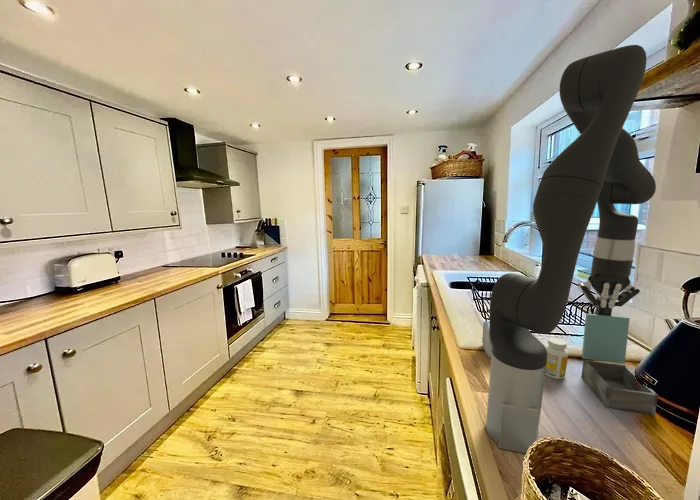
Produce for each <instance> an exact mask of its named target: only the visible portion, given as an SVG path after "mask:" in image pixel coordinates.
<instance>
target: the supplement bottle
mask: <svg viewBox="0 0 700 500" xmlns="http://www.w3.org/2000/svg"><path fill="white" fill-rule="evenodd" d="M544 346H545V348H546V350H547V363H546V371H545V376H547V377H549V378H552V379H556V380H557V379H558V380H561V379H564V378H565V377H566V374H567V365H568V359H569V351H568V350H567V349H566V348H567V342H566V341H565V340H563V339H561V338H558V337H549V339H548V341H547V345H544Z"/></svg>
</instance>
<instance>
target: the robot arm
mask: <svg viewBox="0 0 700 500" xmlns="http://www.w3.org/2000/svg"><path fill="white" fill-rule="evenodd" d="M646 69H647V53H646V50H645V49H644V47H643V46H641V45H639V44H630V45H629V44H628V45H624V46H621V47H617V48H614V49H610V50H606V51H603V52H599V53H596V54H592V55H589V56H586V57H585V56H584V57H583V58H579V59H577V60H575V61H572V62H571V63H569V64H568V65H567V66H566V68H565V69H564V71H563V72H562V75H561V78H560V81H559V96H560V97H559V98H560V102H561V104H562V108H563V109H564V112H565V113H566V114H567V116H568V118H569V119H570V121H571V122H572V124H573V125H574V127H575V129H576V130H577V131H578V133H579V135H578V137H576V138H575V139H574V140H573V141H572V142H570V144H569V145H568V146H566V148H564V149H563V151H562V152H560V153H559V154H558V155H557V156H556V157H555V158H554V159H553V160H552V161H551V163H550V164H549V165H547V167H546V168H545V170H544V172H543V174H542V175H541V179H540V182H539V185H538V187H537V190H536V194H535V196H534V199H533V202H532V203H533V204H532V213H533V217H534V221H535V224H536V227H537V230H538V234H539V236H540V239H541V243H542V249H543V257H542V264H541V267H540V268H541V269H540V271H539V275H538V278H534V277H530V276H526V275H524V274H520V273H519V274H518V273H513V272H512V273H510V272H509V273H505V274H503V275H501V276H500V277H499V278H498V279H497V280H496V282H495V283H494V285H493V287H492V290H491V293H490V299H489V300H490V301H489V321H490V329H489V336H490V341H491V343H492V357H491V358H490V359H491V360H490V369H489V371H490V372H489V373H490V374H489V382H488V395H487V406H486V422H485V428H486V432H487V434H488V436H489V437H490V438H491V439H492V440H493V441H494V442H495V443H496V444H497V448H498V449H502V450H506V451H511V452H515V453H516V452H517V453H520V454H521V453H522V454H525V453H526V452H527V450H528V448H529V447H530V446H531V445H532V444H533V443H534V442H535V441H536V440H537V441H538V439H539V438H538V437H539V429H540V421H541V410H542V403H543V395H544V385H545V378H546V375H545V371H546V363H547V350H546V348H545V346H546V345H544V344H543V343H542V342H541V341H540V340H539V339H538V338H537V337H536V336H535V335H534V334H533V333H536V334H540V335H547V334H549V333H551V332H553V331H554V330H555V329H556V328H557V327H558V325H559V324H560V322H561V321H562V318H563V317H564V313H565V311H566V308H567V304H568V300H569V297H570V292H571V288H572V284H573V283H572V282H573V279H574V275H575V270H576V265H577V261H578V258H579V254H580V251H581V248H582V244H583V241H584V238H585V236H586V233H587V230H588V227H589V224H590V221H591V219H592V216H593V213H594V211H595V208H596V207H598V215H599V225H598V231H597V238H596V242H595V244H594V249H593V254H592V255H593V257H592V262H591V267H590V268H591V270H590V271H591V272H590V275H589V276H588V278H587V280H586V281H584V282H578V283H577V287H578V288H579V290H580V291H581V293H582V294H583V296H585V297H586V299H587V300H588V302H590V303H592V304H593V305H595V313H594V314H597V315H608V316H612V313H613V308H614V307H623V306H624V305H625V304H626V303H628V302H630V300H631V299H633V298H634V297H635V296H637V295H638V294H640V291H641V290H640V289H639V288H637V287H635V286H634V285H632V284H631V280H630V276H631V273H632V266H633V262H634V255H635V250H636V249H635V248H636V243H635V242H636V235H637V231H638V226H639V219H638V217H637V216H636V215H634V214H629V213H624V212H621V211H619V210H617V209H616V207H615V205H618V204H619V205H641V204H645V203H646V202H648V201H650V200H651V199H652V198H653V197H654V195H655V194H656V189H657V188H656V187H657V185H656V180H655V178H654V176H653V175H652V173H651V172H650V171H649V170H648V169H647V167H646V166H645V165H644V164H643V163H642V162H641V161H640V156H639V151H638V147H637V143H636V140H635V139H634V137H633V135H632V134H630V133H629V132H628V131H627V130H626V129H625V128H623V127H624V125H625V123H626V121H627V119H628V116H629V115H630V112H631V110H632V108H633V105H634V103H635V100H636V99H637V96H638V93H639V90H640V88H641V86H642V83H643V81H644V77H645V72H646ZM592 289H593V290H594V291H595V296H596V297H595V296H594V294H593V293H592V291H591V290H592ZM532 332H533V333H532Z"/></svg>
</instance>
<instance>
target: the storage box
mask: <svg viewBox="0 0 700 500" xmlns="http://www.w3.org/2000/svg"><path fill="white" fill-rule="evenodd" d="M581 369H582V371H581V377H580V378H581V379H582V380H583V381H584V383H585V384H586V386H588V388H589V389H590V391H591V392H592V393H593V394H594V396H595V397H596V398H597V399H598V401H599V402H600V403H601V404H602V405H603V407H604V408H605V409H610V410H615V411H623V412H627V413H635V414H641V415H648V416H653V417H654V416H655V415H656V410H657V405H658V400H659V394H657V393H656V392H655V391H654V390H653V389H652V388H651V387H650V388H651V389H650V388H648V387H647V386H645V385H644V384H643V385H642V387H641V386H639V385H638V384H637V382H636V379H635V375H636V374H635V372H633V370H632V369H630V368H629V367H628V366H627V365H625V364H620V363H612V362H603V361H595V360H587V359H585V360H584V359H583V362H582V368H581Z"/></svg>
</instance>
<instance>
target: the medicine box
mask: <svg viewBox="0 0 700 500" xmlns="http://www.w3.org/2000/svg"><path fill="white" fill-rule="evenodd" d="M489 329H490V320H484V321H483V325H482V339H481V343H483V346H482V347H483V349H484V352H485V353H486V356H487V357H488V358H489V359H491V357H492V343H491V341H490V336H489Z"/></svg>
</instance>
